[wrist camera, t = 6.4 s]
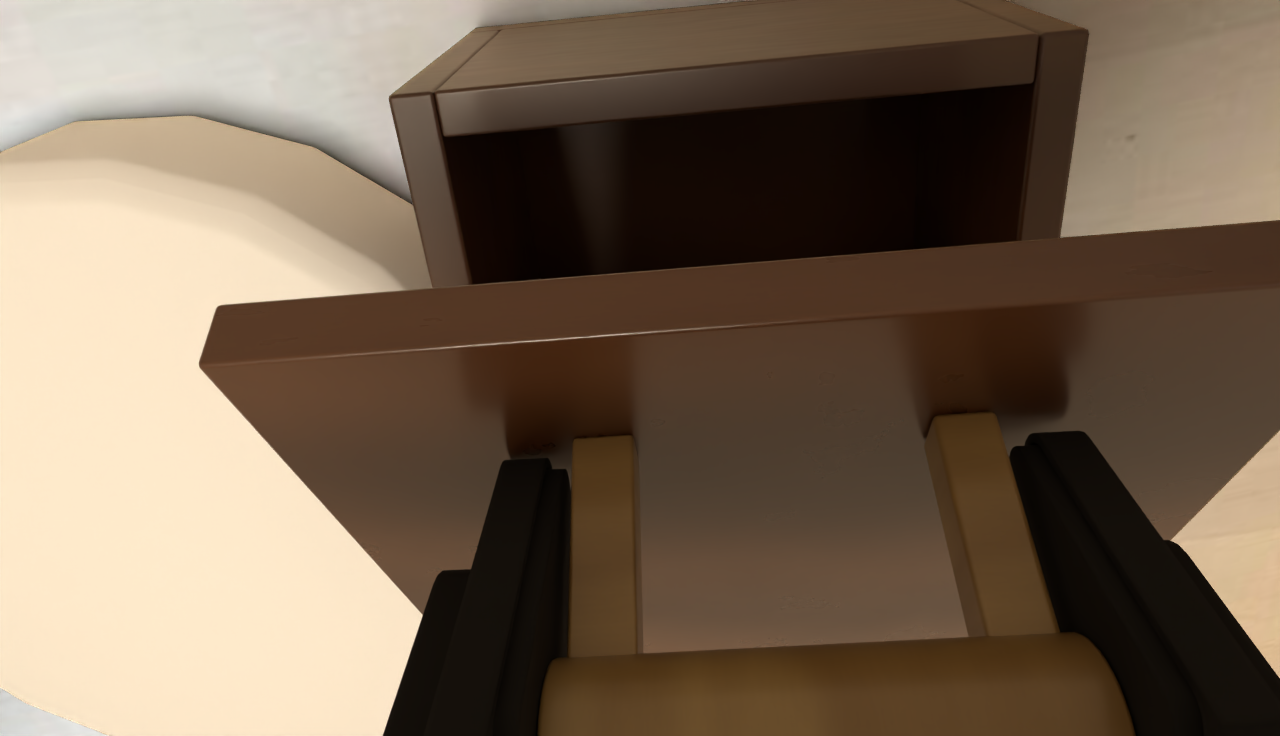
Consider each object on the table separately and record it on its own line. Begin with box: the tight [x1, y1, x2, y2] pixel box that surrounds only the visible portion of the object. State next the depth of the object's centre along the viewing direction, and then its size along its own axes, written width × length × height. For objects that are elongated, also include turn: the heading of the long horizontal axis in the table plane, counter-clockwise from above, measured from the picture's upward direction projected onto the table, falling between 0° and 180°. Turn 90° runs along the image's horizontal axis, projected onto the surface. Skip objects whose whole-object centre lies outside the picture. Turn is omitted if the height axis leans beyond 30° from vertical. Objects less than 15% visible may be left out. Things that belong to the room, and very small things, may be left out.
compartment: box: [389, 0, 1089, 288], centre depth 21 cm, size 15×12×8 cm
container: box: [0, 116, 432, 736], centre depth 26 cm, size 20×20×5 cm
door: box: [199, 220, 1280, 736], centre depth 14 cm, size 15×12×5 cm
